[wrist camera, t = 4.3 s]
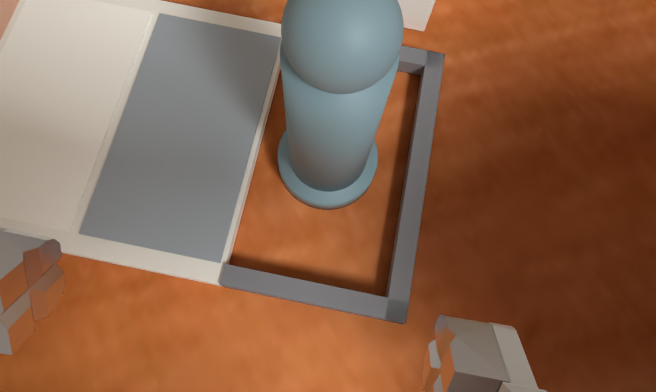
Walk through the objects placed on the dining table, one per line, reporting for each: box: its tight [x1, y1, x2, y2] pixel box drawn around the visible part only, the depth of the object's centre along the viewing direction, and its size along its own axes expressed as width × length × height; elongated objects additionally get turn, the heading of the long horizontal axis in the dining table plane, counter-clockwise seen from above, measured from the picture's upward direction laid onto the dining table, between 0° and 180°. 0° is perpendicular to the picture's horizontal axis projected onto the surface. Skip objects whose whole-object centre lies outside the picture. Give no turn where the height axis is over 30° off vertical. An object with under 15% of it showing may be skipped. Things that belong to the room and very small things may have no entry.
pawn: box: [278, 0, 404, 210], centre depth 19 cm, size 5×5×13 cm
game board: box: [0, 0, 445, 324], centre depth 25 cm, size 15×32×1 cm, turn 79°
